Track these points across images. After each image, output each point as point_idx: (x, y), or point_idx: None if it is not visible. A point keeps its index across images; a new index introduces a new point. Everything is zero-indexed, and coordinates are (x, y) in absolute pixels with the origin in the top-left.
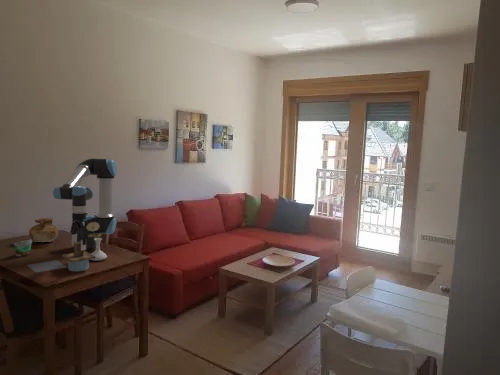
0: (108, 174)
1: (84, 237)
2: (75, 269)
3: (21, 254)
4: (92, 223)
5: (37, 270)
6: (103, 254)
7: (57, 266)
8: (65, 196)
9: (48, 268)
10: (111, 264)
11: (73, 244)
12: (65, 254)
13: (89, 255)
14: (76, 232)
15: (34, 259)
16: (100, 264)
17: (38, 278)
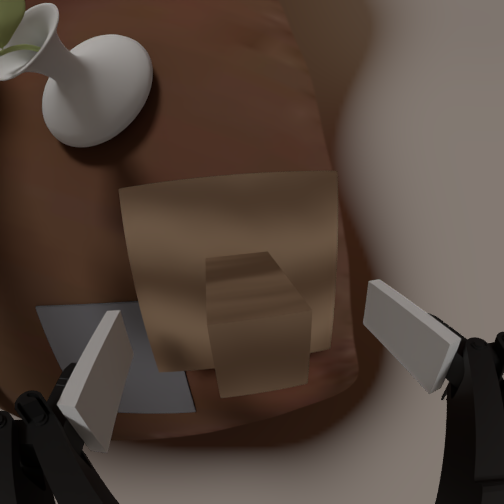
0: None
1: (499, 376)
2: None
3: None
4: None
5: (169, 404)
6: (122, 49)
7: (139, 335)
8: None
9: (157, 372)
10: (250, 52)
11: (129, 350)
12: (156, 354)
13: (283, 202)
14: (67, 441)
15: (14, 364)
16: (210, 103)
17: (267, 407)
